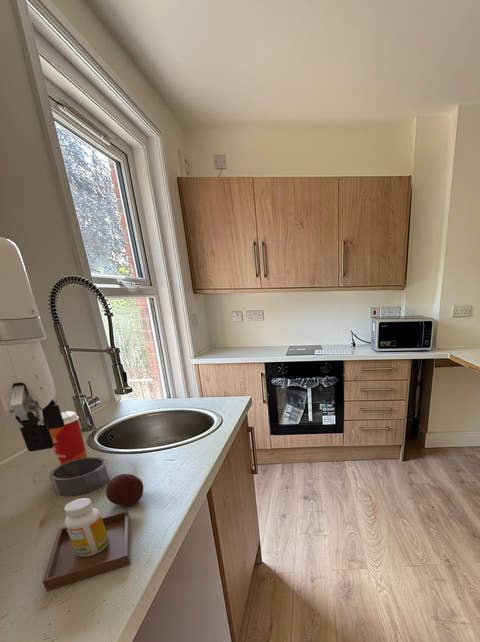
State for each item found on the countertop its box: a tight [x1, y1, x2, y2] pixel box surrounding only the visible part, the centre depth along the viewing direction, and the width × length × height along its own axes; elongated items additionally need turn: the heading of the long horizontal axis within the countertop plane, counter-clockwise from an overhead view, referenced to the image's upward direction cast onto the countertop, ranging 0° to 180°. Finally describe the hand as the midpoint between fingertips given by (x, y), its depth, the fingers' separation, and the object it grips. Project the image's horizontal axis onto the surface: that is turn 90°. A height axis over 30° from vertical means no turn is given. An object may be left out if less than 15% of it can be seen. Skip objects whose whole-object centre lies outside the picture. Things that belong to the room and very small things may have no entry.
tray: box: [42, 510, 131, 592], centre depth 65 cm, size 12×15×2 cm
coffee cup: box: [49, 410, 88, 465], centre depth 94 cm, size 8×8×15 cm
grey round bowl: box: [48, 456, 111, 497], centre depth 87 cm, size 12×12×4 cm
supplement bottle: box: [63, 497, 109, 557], centre depth 63 cm, size 5×5×10 cm
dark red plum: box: [105, 473, 144, 507], centre depth 79 cm, size 7×8×7 cm
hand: (48, 437), depth 58 cm, fingers open, 9 cm apart
